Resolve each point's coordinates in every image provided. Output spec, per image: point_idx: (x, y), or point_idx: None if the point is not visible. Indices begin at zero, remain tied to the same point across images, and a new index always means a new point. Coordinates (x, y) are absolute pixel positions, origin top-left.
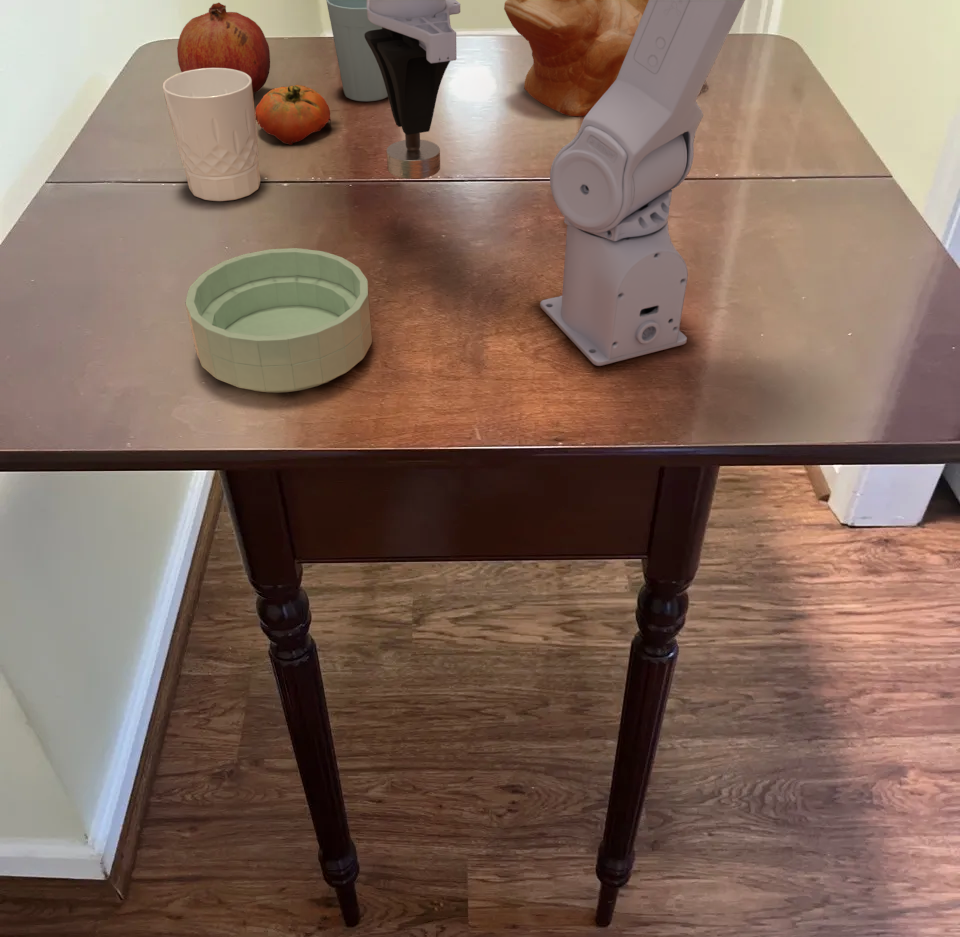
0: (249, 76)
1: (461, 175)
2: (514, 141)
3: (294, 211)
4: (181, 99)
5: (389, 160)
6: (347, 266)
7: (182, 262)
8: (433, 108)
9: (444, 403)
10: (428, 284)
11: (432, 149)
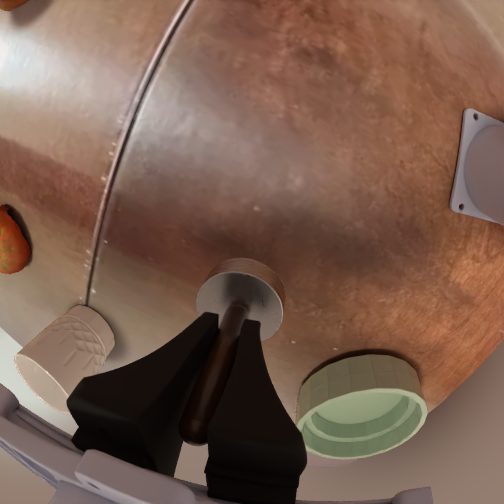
0: (27, 357)
1: (119, 116)
2: (77, 33)
3: (143, 309)
4: None
5: None
6: (368, 393)
7: None
8: (260, 345)
9: (475, 337)
10: (347, 276)
11: (252, 287)
